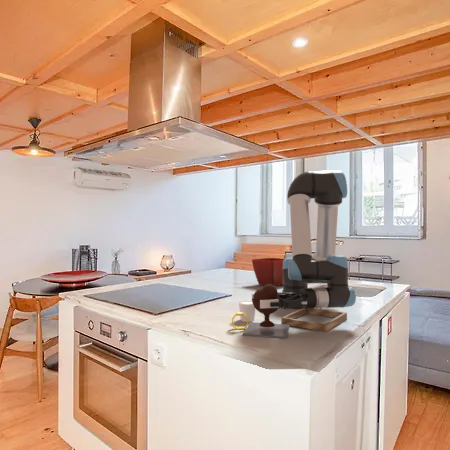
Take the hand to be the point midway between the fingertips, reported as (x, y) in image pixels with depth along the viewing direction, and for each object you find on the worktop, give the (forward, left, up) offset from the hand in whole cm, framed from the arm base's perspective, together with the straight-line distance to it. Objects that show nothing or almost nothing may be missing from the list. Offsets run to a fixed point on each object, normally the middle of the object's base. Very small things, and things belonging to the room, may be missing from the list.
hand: (256, 300), depth 124 cm
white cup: (-6, +15, -11) cm, 20 cm away
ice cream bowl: (+4, +2, -9) cm, 10 cm away
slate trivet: (+4, +2, -11) cm, 12 cm away
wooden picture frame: (+20, +19, -11) cm, 30 cm away
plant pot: (-8, +103, -11) cm, 104 cm away
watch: (-6, +2, -11) cm, 13 cm away
